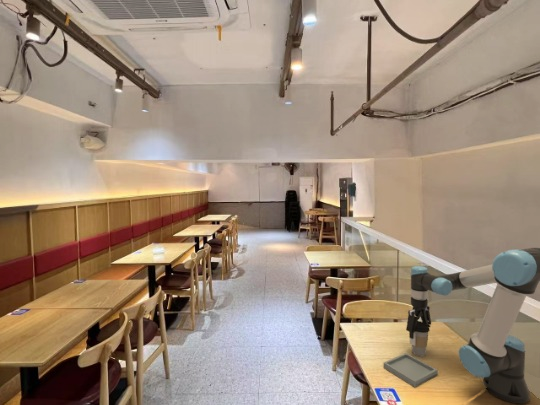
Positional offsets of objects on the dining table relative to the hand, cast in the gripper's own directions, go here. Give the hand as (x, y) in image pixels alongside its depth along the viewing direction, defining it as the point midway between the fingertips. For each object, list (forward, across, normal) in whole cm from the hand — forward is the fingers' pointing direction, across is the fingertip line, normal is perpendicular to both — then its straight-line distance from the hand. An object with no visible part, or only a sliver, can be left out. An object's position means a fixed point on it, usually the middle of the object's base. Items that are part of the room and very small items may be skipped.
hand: (418, 341), depth 149 cm
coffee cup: (+6, 0, 0) cm, 6 cm away
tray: (+6, +17, +7) cm, 19 cm away
